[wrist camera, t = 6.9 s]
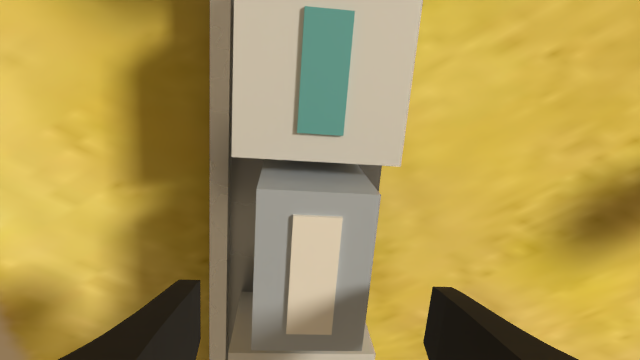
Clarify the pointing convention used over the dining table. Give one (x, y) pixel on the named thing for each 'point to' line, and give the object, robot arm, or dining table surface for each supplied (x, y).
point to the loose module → (312, 256)
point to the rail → (231, 191)
